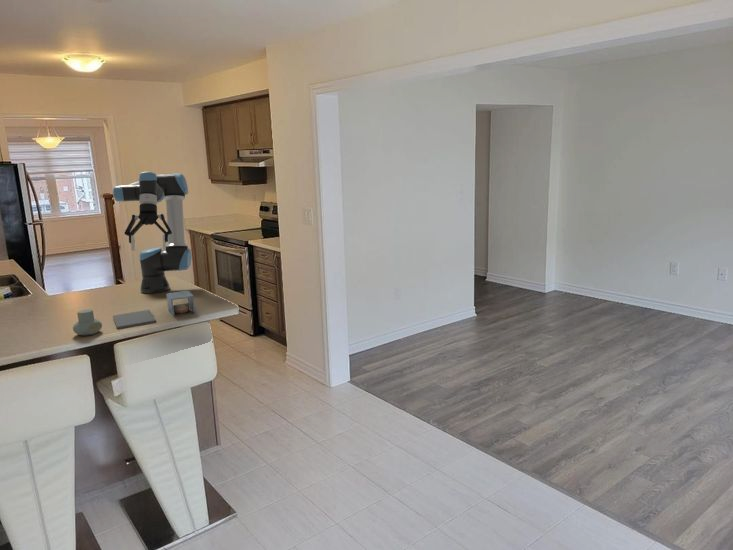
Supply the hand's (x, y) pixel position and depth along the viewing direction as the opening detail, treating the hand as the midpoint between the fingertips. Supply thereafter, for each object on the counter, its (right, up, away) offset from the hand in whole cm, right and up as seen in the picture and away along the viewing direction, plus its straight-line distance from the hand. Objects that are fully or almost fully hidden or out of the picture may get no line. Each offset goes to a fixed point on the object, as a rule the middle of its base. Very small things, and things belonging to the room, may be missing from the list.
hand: (148, 249), depth 238 cm
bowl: (+11, -29, +10) cm, 33 cm away
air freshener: (-19, -37, -17) cm, 44 cm away
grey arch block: (+11, -29, +10) cm, 33 cm away
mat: (-7, -32, 0) cm, 33 cm away
